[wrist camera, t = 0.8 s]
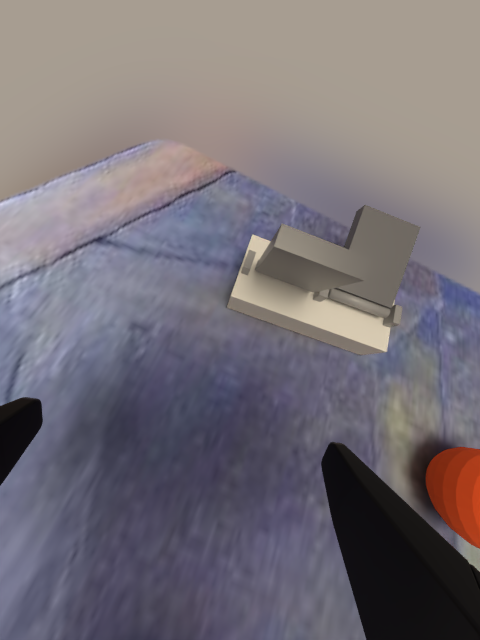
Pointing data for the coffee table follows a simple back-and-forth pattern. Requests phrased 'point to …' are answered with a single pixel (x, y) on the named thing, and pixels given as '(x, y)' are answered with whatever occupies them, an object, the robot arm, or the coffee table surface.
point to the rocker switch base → (308, 309)
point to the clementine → (457, 490)
